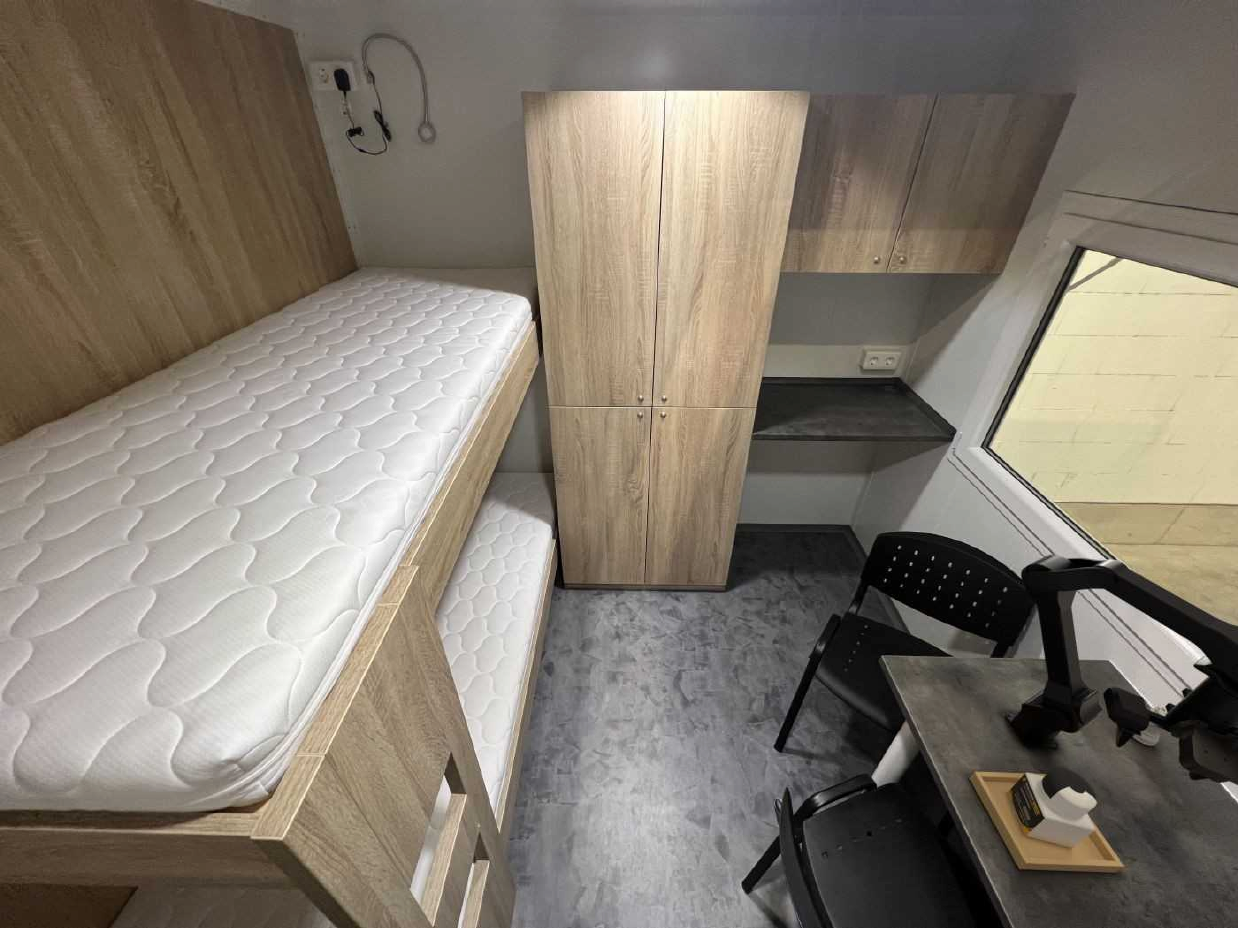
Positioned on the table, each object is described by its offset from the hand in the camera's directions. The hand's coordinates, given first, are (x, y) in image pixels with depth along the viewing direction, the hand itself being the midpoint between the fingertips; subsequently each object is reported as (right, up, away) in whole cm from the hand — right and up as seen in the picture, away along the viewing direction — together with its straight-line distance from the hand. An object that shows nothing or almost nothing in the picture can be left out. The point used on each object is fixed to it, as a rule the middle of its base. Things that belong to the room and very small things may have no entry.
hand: (1153, 760), depth 80 cm
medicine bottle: (-16, -12, +3) cm, 21 cm away
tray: (-16, -13, +3) cm, 21 cm away
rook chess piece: (+16, -5, +17) cm, 24 cm away
